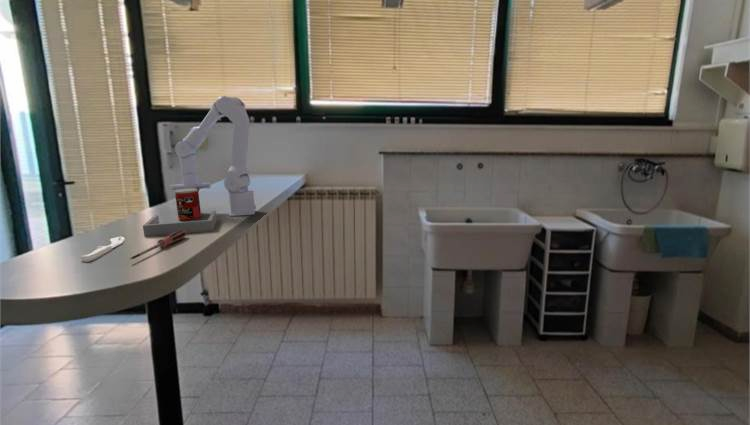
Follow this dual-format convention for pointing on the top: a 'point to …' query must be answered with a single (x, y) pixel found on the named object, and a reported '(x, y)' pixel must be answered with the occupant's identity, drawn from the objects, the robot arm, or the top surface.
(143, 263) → the top surface
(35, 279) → the top surface
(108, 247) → the white elongated piece
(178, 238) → the screwdriver
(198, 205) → the canned food
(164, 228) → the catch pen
